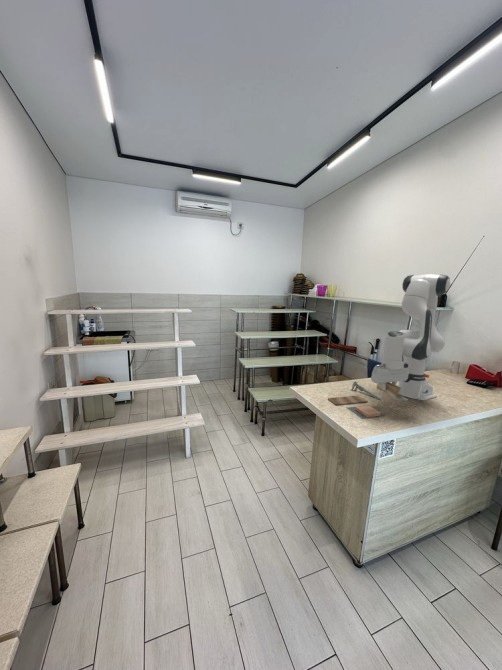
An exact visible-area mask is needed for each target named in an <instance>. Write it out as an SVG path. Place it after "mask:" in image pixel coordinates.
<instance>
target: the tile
mask: <svg viewBox="0 0 502 670" xmlns="http://www.w3.org/2000/svg"><path fill="white" fill-rule="evenodd" d="M359 406H360V407H357V406H355V407H356V410H357V411H358V412H359V413H361V414H362V415H364V416H365V417H374V418H376V417H375V416H380V414H381V413H382V412H380V411H378V410H377V409H376V408H374V407H373V406H370V405H369V406H367V405H359Z"/></svg>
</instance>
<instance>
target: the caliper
mask: <svg viewBox="0 0 502 670" xmlns="http://www.w3.org/2000/svg"><path fill="white" fill-rule="evenodd" d="M353 389H354V391H355V392H356V391H357V390H358V391H361V392H364V393H366V395H367V394H368V395H369V396H371V398H372V397H373V398H374V399H376V400H379V401H382V402H385V400H384V399H383V398H382V397H380V396H378V395H376V394H374V393H373V392H371V391H370V390H368V389H366V388H365V387H364V386H362V385H361V384H359V383H358V381H357V380H354V381H353V383H352V386H351V390H353Z"/></svg>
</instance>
